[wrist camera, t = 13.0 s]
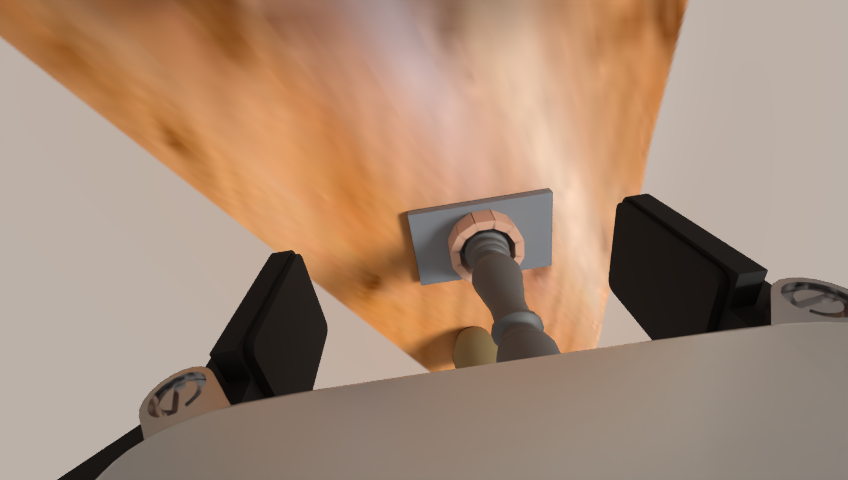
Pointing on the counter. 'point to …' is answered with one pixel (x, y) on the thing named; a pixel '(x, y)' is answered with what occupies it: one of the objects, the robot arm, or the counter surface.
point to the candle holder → (505, 298)
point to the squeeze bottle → (474, 348)
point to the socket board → (452, 224)
